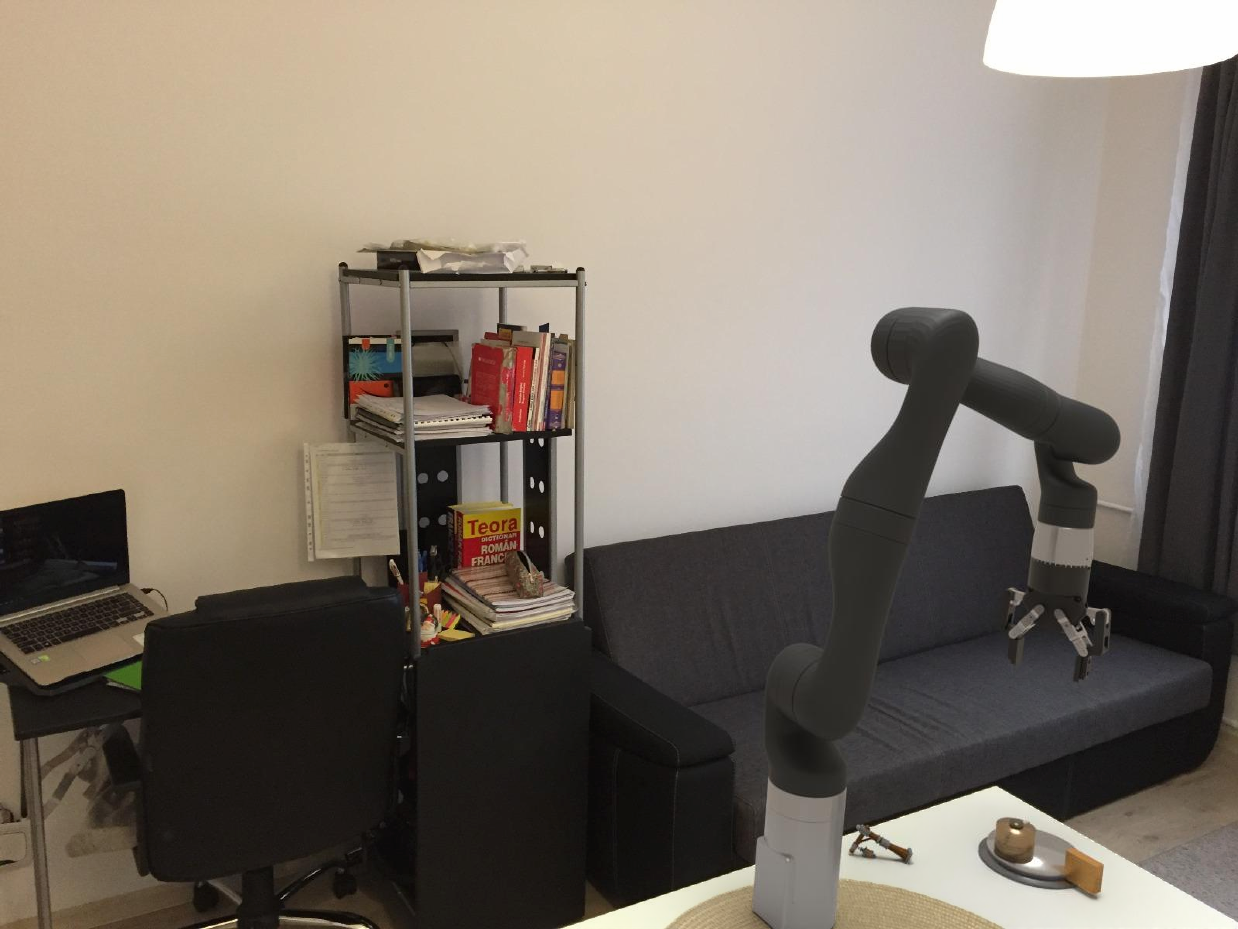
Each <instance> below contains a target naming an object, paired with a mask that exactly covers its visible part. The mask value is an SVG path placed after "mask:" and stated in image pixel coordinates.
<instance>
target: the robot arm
mask: <svg viewBox="0 0 1238 929" xmlns="http://www.w3.org/2000/svg"><path fill="white" fill-rule="evenodd" d="M979 348H980V334H979V329H978V326H977V324H976V321H975V320H974V318H973V317H972V316H971V315H970V314H969V313H967V312H965V311H963V310H960V309H956V308H955V309H954V308H947V307H946V308H942V307H926V306H925V307H923V306H922V307H921V306H908V307H902V308H896V309H894V310H890V311H889V312H888V313H886V314H884V315H883V316H882V317H881V318H880V319H879V320H878V322H877V323H876V325H875V327H874V329H873V331H872V334H871V339H870V353H871V357H872V361H873V363H874V365H875V367H876V369H877V370H878V371H879V372H880V373H881V374H882V375H883V376H884V377H885V378H887V379H888V380H891V381H893V382H895V383H897V384H902V385H906V386H907V389H906V390H907V391H906V394H905V396H904V399H903V402H902V404H901V406H900V409H899V411H898V413H897V416H896V418H895V420H894V422H893V423H892V425H891V426H890V427H889V429H888V431H887V432H886V433H885V434H884V435H883V437H882V438H881V439H880V440H879V441H878V442H877V443H876V444H875V446H874V447H872V449H871V450H869V452H868V453H867V454H865V456H864V457H863V459H861V460H860V462H858V464H857V466H855V467H854V469H853V470H852V472H851V473H850V474H849V476H848V477H847V479H846V481H845V483H844V485H843V487H842V490H841V493H840V497H839V499H838V502H837V505H836V507H835V508H836V509H835V512H834V515H833V518H832V520H831V524H830V530H829V534H828V539H827V540H828V541H827V542H828V544H827V546H828V548H827V551H828V563H829V564H828V565H829V573H830V581H831V587H832V600H833V601H832V614H831V620H830V626H829V630H828V633H827V637H826V640H825V643H824V646H823V648H820V647H819V646H816V645H814V644H811V643H807V642H805V643H804V642H798V643H794V644H793V643H792V644H790V645H789V646H787V647H785V648H783V650H781V651H780V652H779V653H778V654H777V655H776V657H775V658H774V659H773V662H772V663H771V666H770V668H769V670H768V672H767V677H766V682H765V689H764V690H765V691H764V706H763V707H764V710H763V713H764V718H763V720H764V721H763V749H764V753H765V756H766V760H767V764H768V780H767V781H768V782H767V790H766V792H767V795H766V804H765V806H766V807H765V819H764V820H765V821H764V834H763V835H762V836H759V837H758V838H757V839H756V850H755V864H754V878H753V880H754V881H753V890H752V892H753V893H752V894H753V895H752V904H751V905H752V908H751V909H752V911H753V912H754V913H755V914H757V915H758V916H759V917H760V918H761V919H762V920H763V921H764V922H766V923H767V924H768V925H769V926H770V927H771V928H772V929H832V928H833V927H834V926H835V924H836V918H837V917H836V916H837V906H838V897H839V896H838V895H839V894H838V893H839V883H840V882H839V880H840V869H841V857H842V845H843V836H844V835H843V833H844V824H845V811H846V810H845V809H846V801H847V800H846V798H847V786H848V776H849V775H848V774H849V773H848V772H849V771H848V770H849V769H848V764H847V761H846V759H845V757H844V755H843V754H842V753H841V751H840V750H839V748H838V747H837V745H836V743H835V742H836V741H839V740H843V739H845V738H846V737H848V736H849V735H850V734H851V733H852V732H853V731H854V730H856V728H857V726H858V725H859V724H860V723H861V720H862V719H863V717H864V715H865V712H866V710H867V707H868V704H869V702H870V698H871V693H872V691H873V686H874V685H873V684H874V680H875V676H876V672H877V665H878V661H879V657H880V651H881V647H882V641H883V637H884V632H885V629H886V625H887V621H888V617H889V615H890V614H889V613H890V610H891V607H892V603H893V600H894V597H895V592H896V588H897V585H898V583H899V579H900V577H901V576H900V575H901V572H902V569H903V566H904V563H905V560H906V557H907V555H908V553H909V550H910V546H911V543H912V541H913V537H914V535H915V530H916V528H917V524H918V521H919V518H920V515H921V511H922V508H923V503H924V500H925V497H926V494H927V490H928V487H929V485H930V481H931V478H932V475H933V472H934V470H935V467H936V464H937V461H938V458H939V456H940V454H941V449H942V447H943V444H944V441H945V438H946V436H947V435H948V434H947V433H948V432H949V430H950V427H951V425H952V422H953V420H954V418H955V415H956V413H957V410H958V408H959V406H960V405H963V407H966V408H968V409H969V410H970V409H971V410H972V411H974V412H976V413H978V414H980V415H981V416H984V417H986V418H988V419H990V420H991V421H993V422H995V423H997V424H999V425H1000V426H1001V427H1004V428H1005V429H1007V430H1009V431H1011V432H1013V433H1015V434H1016V435H1018V436H1020V437H1022V438H1024V439H1027V440H1028V441H1032V442H1033V447H1034V448H1033V449H1034V456H1035V461H1036V468H1037V474H1038V475H1037V476H1038V480H1039V486H1040V487H1039V488H1040V497H1039V498H1040V499H1039V504H1038V513H1037V514H1038V515H1037V521H1036V527H1035V530H1034V533H1033V537H1032V546H1031V553H1030V554H1031V555H1030V563H1029V571H1028V576H1027V577H1028V578H1027V589H1026V592H1023V591H1019V590H1018V588H1017V587H1014V586H1013V587H1012V586H1011V587H1010V588H1007V589H1004V590H1003V591H1002V594H1001V600H1000V605H999V606H1000V607H999V612H998V617H997V622H996V628H997V630H998V631H999V632H1003V633H1005V634H1007V635H1008V638H1009V639H1008V647H1007V648H1008V649H1007V656H1006V657H1007V659H1008V660H1009V661H1010V665H1012V666H1016V667H1017V666H1019V665H1021V663H1022V660H1023V654H1024V653H1023V652H1024V645H1025V637H1023V635H1024V634H1026V633H1027V632H1028V631H1029V630H1030V629H1031V628H1032V627H1034V626H1037V629H1041V630H1050V631H1052V632H1054V633H1057V634H1063V633H1064V634H1065V635H1066V636H1067V638H1068V640H1069V641H1070V643H1072V644H1073V646H1074V648H1075V649H1076V651H1077V653H1078V654H1076V657H1075V662H1074V663H1075V664H1074V671H1073V680H1072V681H1073V682H1074V683H1076V684H1080V683H1082V682H1083V681H1084V680H1086V679H1088V678H1089V676H1090V672H1091V664H1092V658H1093V656H1103V654H1106V653H1108V652H1109V650H1110V638H1111V637H1110V636H1111V622H1112V621H1111V620H1112V611H1111V610H1110V609H1109V608H1107V607H1105V608H1102V609H1101V608H1094V607H1091V606H1089V605H1088V601H1087V598H1088V597H1087V596H1088V593H1089V584H1090V577H1091V576H1090V575H1091V569H1092V562H1093V559H1094V545H1095V543H1094V542H1095V540H1094V537H1095V536H1094V532H1095V531H1094V529H1095V528H1094V527H1095V520H1096V514H1097V505H1098V499H1099V498H1098V496H1099V495H1098V494H1099V493H1098V490H1097V489H1098V488H1097V487H1096V486H1094V484H1092V483H1090V482H1088V481H1086V480H1083V478H1080V477H1079V476H1078V475H1077V473H1076V471H1075V466H1074V463H1078V464H1082V465H1088V466H1089V465H1090V466H1094V465H1096V466H1097V465H1101V464H1104V463H1106V462H1108V461H1109V460H1111V459H1112V458H1113V457H1114V456H1115V455H1116V454H1117V452H1118V451H1119V449H1120V446H1121V441H1122V438H1121V431H1120V428H1119V426H1118V424H1117V421H1115V419H1114V418H1113V417H1112V416H1111V415H1110V414H1109V413H1107V412H1106V411H1104V410H1102V409H1100V408H1098V407H1094V406H1093V405H1090V404H1088V403H1085V402H1083V401H1080V400H1077V399H1073V398H1070V397H1066V396H1064V395H1063V394H1060V393H1058V392H1057V391H1056V390H1054V389H1052V388H1051V387H1050V386H1048V385H1046V384H1044V383H1043V382H1041V381H1039V380H1037V379H1036V378H1033V377H1032V376H1031V375H1029V374H1026V373H1024V372H1022V371H1019V370H1017V369H1014V368H1011V367H1009V366H1005V365H1003V364H1000V363H996V362H994V361H991V360H988V359H985V358H983V357H980V356H978V354H979ZM1021 601H1022V603H1023V605H1024V607H1025V609H1026V611H1027V614H1026V615H1025V616H1024V617H1022V618H1021V620H1019V621H1018V623H1017V624H1015V623H1013V622H1014V617H1015V612H1016V606H1019V605H1020V604H1021ZM1087 616H1088V618H1089V620H1090V623H1091V625H1093V626H1094V630H1093V644H1092V642H1091V640H1090V638H1089V636H1088V632H1087V630H1086V628H1085V627H1084V624H1083V623H1082V621H1083V620H1084V619H1085V618H1086V617H1087Z"/></svg>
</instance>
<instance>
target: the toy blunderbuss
mask: <svg viewBox="0 0 1238 929" xmlns="http://www.w3.org/2000/svg"><path fill="white" fill-rule="evenodd" d="M855 827H856V830H858V833H859V835H858V836H857V837H856V839H855V841H853V842H852V844H851V845H850V846H851V847H850V848H849V849H848V850H849V853H850V854H852V855H853V854H854V853H855V851H856V850H859V851H860V853H862V856H863V857H867V858H869V859H872V858H873V859H876V858H877V855H876V853H875V852H874V850H872V849H870V848H868V846H867V845H866V846H865V847H863V846H859V845H861V844H862V843H866V842H868V841H871V840H872V841H874V842H875V844H876V845H878V846H880V847H881V848H884V849H885V850H886V851H888V850H889V851H890V852H892V853H893V854H895V855H897V856H898V857H899V858H900V859H902V861H903V864H904V865H908V863H909V861H910V860H912V857H913V855H914V853H913V850H912V847H907V848H904V847H901V846H899V845H897V844H894V843H892V842H891V841H890V840H888V839H887V838H885V837H884V836H881V834H877V833H875V832H873V831H871V826H870V825H868V824H866V825H864V824H861V825H860V824H856V826H855ZM865 837H866V838H865Z"/></svg>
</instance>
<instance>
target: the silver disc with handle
mask: <svg viewBox="0 0 1238 929" xmlns="http://www.w3.org/2000/svg"><path fill="white" fill-rule="evenodd" d="M995 832H996V828H995V829H994V830H991V831H990V832H989V834H988V835H987V836H986V837H987V846H986V848H987V852H988V854H989V855H990V856H991V857H992V858H993V859H994V860H995V861H996V862H997V863H999V864H1000V865H1002V866H1003V867H1005V868H1007V869H1009V870H1011V871H1014V872H1016V873H1019V874H1022V875H1025V876H1028V877H1033V878H1037V879H1044V880H1063V879H1067V880H1069V881H1070V882H1072V883H1074V884H1075V885H1077V887H1079V888H1081V889H1083V890H1084V891H1086V892H1088V893H1089V894H1091V895H1096V894H1101V892H1102V884H1103V877H1104V868H1105V864H1103V863H1102V862H1101V861H1098V860H1096V859H1095V858H1093V857H1091V856H1090V855H1087V854H1086V853H1084V852H1082V851H1080V850H1079V849H1077V848H1076V847H1075V846H1074V845H1073V844H1072V843H1070V842H1068V841H1067V840H1065V839H1064V838H1061V837H1059V836H1058V835H1056V834H1053V833H1051V832H1046V831H1045V830H1041V829H1040V830H1039V829H1037V828H1036V838H1035V847H1034V856H1033V860H1032V862H1030V863H1027V864H1016V863H1011V862H1008V861H1005V860H1003V859H1001V858H999V857H998V856H997V855H996V854H995V853H994V841H995Z"/></svg>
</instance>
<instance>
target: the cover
mask: <svg viewBox="0 0 1238 929" xmlns="http://www.w3.org/2000/svg"><path fill="white" fill-rule="evenodd" d="M995 824H996V825H995V829H996V832H995V841H994V853H995V854H996V855H997V856H998V857H999V858H1001V859H1003V860H1005V861H1008V862H1011V863H1016V864H1027V863H1030V862H1032V860H1033V856H1034V847H1035V838H1036V829H1037V828H1036V826H1034V825H1033V824H1032V823H1031V821H1030V820H1027V819H1021V818H1017V817H1000V818H998V819H997V820H996V823H995Z"/></svg>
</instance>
